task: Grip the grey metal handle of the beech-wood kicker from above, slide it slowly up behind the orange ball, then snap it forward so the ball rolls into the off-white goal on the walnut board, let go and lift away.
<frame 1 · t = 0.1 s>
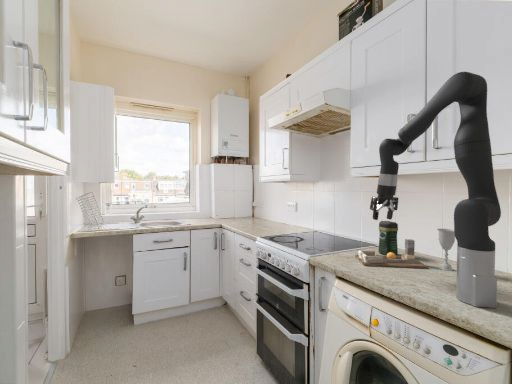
hand: (382, 219, 114), 22 cm above the table, tool pointing down, fingers open, 8 cm apart
ball: (391, 256, 123), point 3 cm above the table, touching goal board
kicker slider: (408, 250, 122), point 6 cm above the table, slide at 0.0 cm
chalice: (445, 269, 114), on the table
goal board: (388, 262, 124), on the table
coffee jar: (387, 254, 140), on the table
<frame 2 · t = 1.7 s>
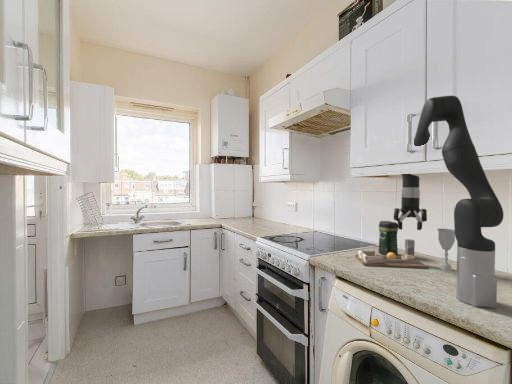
hand: (409, 229, 122), 17 cm above the table, tool pointing down, fingers open, 8 cm apart
nothing on the table moved.
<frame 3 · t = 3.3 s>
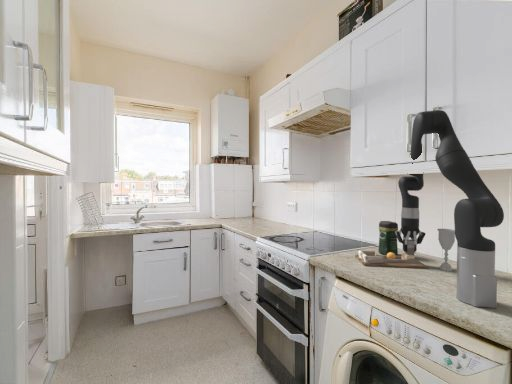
hand: (409, 251, 122), 6 cm above the table, tool pointing down, fingers closed on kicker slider, 3 cm apart
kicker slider: (408, 250, 122), point 6 cm above the table, slide at 0.0 cm, touching gripper
everything else where it was.
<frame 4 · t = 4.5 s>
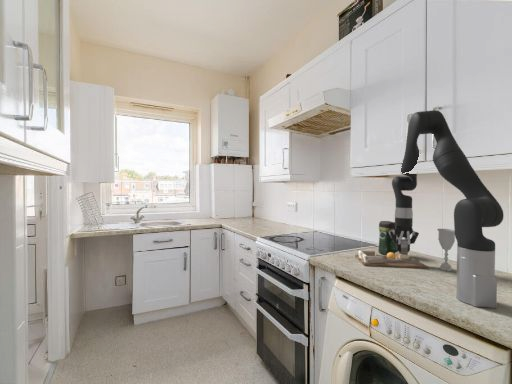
hand: (403, 251, 123), 6 cm above the table, tool pointing down, fingers closed on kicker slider, 3 cm apart
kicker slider: (401, 249, 123), point 6 cm above the table, slide at 3.1 cm, touching gripper
everything else where it was.
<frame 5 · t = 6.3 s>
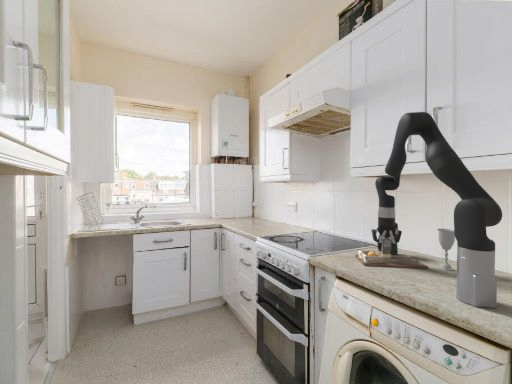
hand: (385, 250, 124), 6 cm above the table, tool pointing down, fingers open, 5 cm apart
ball: (371, 255, 125), point 3 cm above the table, tilted 120°, touching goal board
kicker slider: (384, 249, 124), point 7 cm above the table, slide at 11.0 cm
everything else where it was.
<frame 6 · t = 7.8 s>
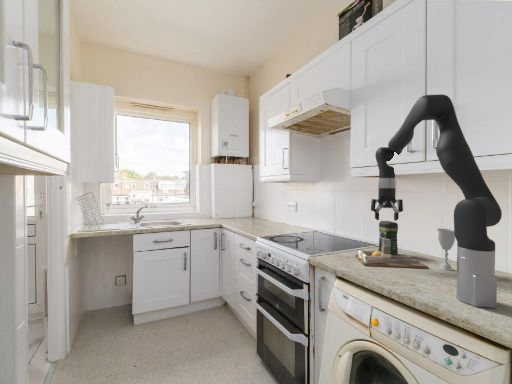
hand: (386, 220, 124), 21 cm above the table, tool pointing down, fingers open, 8 cm apart
ball: (376, 255, 124), point 3 cm above the table, tilted 180°, touching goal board
everything else where it was.
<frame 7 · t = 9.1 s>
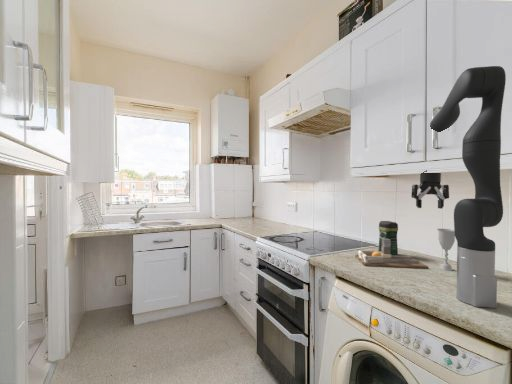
hand: (429, 208, 110), 28 cm above the table, tool pointing down, fingers open, 8 cm apart
nothing on the table moved.
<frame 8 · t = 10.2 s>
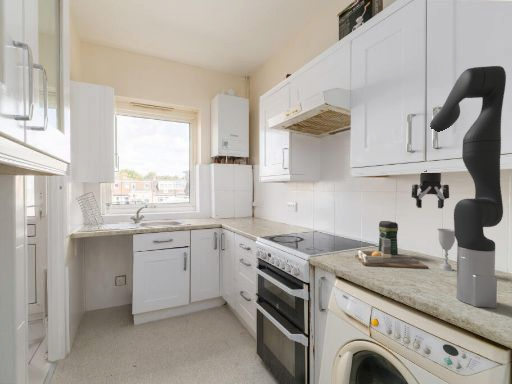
hand: (429, 208, 110), 28 cm above the table, tool pointing down, fingers open, 8 cm apart
nothing on the table moved.
at the end: ball inside the target area (2.6 cm from its centre), point 3.0 cm above the table; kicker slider slide at 11.0 cm; the gripper is holding nothing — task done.
